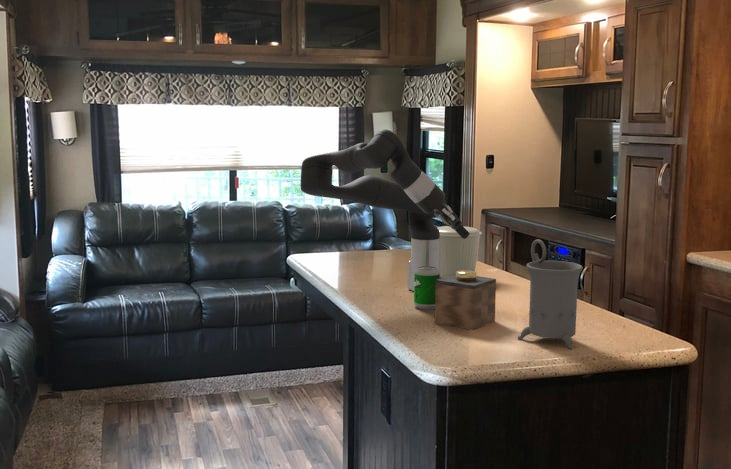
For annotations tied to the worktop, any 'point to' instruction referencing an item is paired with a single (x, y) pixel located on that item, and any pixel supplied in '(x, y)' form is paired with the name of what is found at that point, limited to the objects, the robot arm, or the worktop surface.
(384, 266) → the worktop surface
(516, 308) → the worktop surface
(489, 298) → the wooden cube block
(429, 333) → the worktop surface
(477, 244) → the canister
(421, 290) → the soda can
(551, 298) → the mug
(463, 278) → the brass round peg
